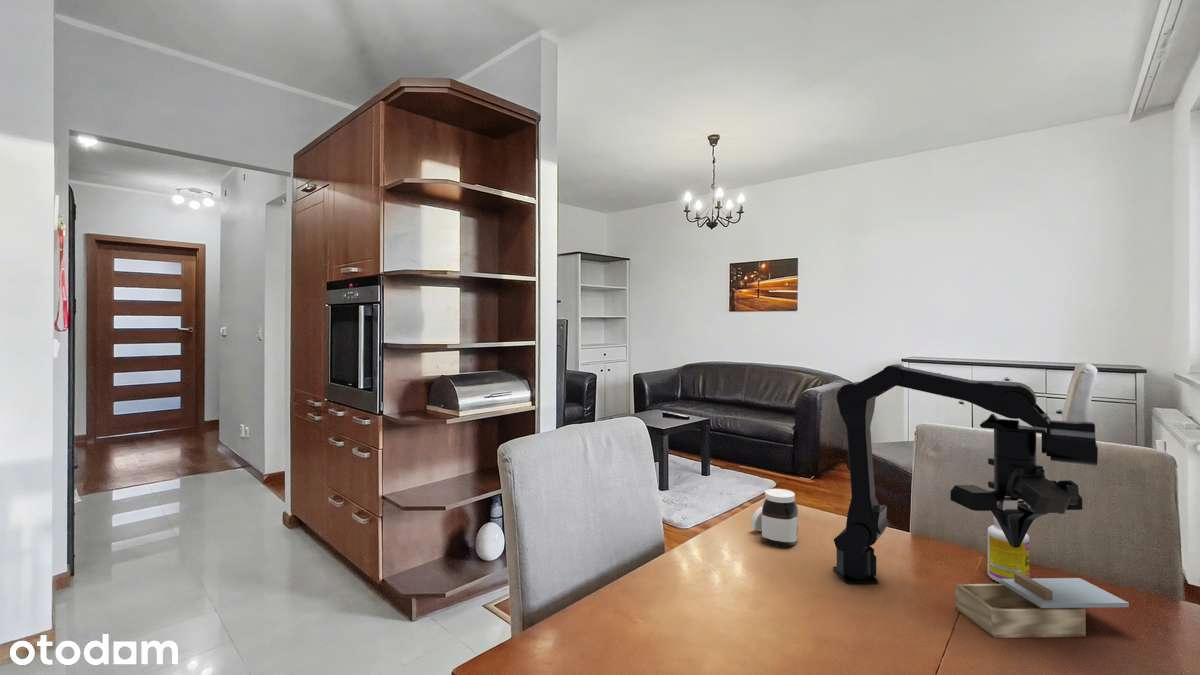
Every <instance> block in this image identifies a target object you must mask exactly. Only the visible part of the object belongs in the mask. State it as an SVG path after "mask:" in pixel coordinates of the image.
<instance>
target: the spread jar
mask: <svg viewBox="0 0 1200 675" xmlns="http://www.w3.org/2000/svg"><path fill="white" fill-rule="evenodd" d="M764 498H765V499H764V501H763V503H762V505H761V506H760V507H759V508H757V509H756V510H755V512H754V513H753V515H752V517H751V519H750V527H751V528H752V529H754V531H755V532H758V530H761V529H762V531H761V537H762V539H763V541H765V542H768V543H767V544H769V543H771V544H773V545H772V546H775V545H778V546H777V547H780V546H790V547H792V546H796V544H797V541H798V537H799V509H798V505H797V503H796V493H795V492H793V491H792V490H789V489H784V488H783V489H782V488H769V489H766V490H765V491H764ZM771 544H770V545H771Z"/></svg>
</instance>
